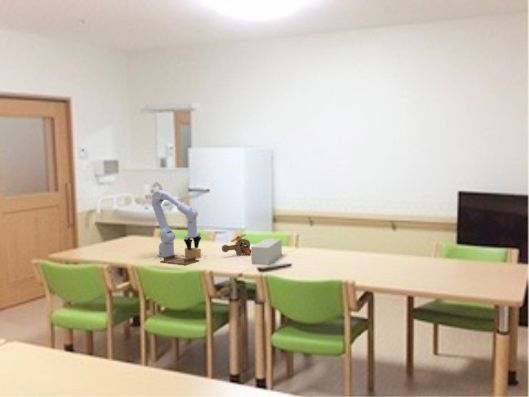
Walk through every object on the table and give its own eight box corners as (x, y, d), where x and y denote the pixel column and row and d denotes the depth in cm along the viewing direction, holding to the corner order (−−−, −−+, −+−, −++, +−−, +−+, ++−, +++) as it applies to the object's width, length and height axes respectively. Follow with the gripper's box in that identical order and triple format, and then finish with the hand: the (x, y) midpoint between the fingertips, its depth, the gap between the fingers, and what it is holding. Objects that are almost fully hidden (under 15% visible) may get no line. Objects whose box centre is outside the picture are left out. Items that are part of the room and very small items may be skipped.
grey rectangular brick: (266, 254, 376) (266, 238, 375) (281, 255, 373) (281, 238, 372) (251, 264, 346) (251, 246, 345) (268, 265, 343) (268, 247, 342)
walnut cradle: (160, 262, 353) (159, 257, 353) (174, 258, 365) (174, 253, 365) (185, 265, 343) (185, 260, 343) (199, 261, 355) (199, 256, 355)
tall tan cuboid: (185, 257, 368) (184, 248, 368) (188, 256, 371) (188, 247, 371) (197, 258, 363) (197, 249, 363) (200, 257, 366) (200, 248, 366)
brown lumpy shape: (253, 254, 373) (252, 234, 372) (225, 258, 362) (225, 237, 361) (246, 253, 380) (246, 232, 379) (219, 256, 369) (219, 235, 367)
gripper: (190, 230, 357) (190, 251, 359) (203, 227, 370) (204, 247, 371) (181, 229, 361) (182, 250, 362) (195, 226, 373) (195, 246, 375)
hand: (192, 248), depth 367 cm, fingers open, 7 cm apart
